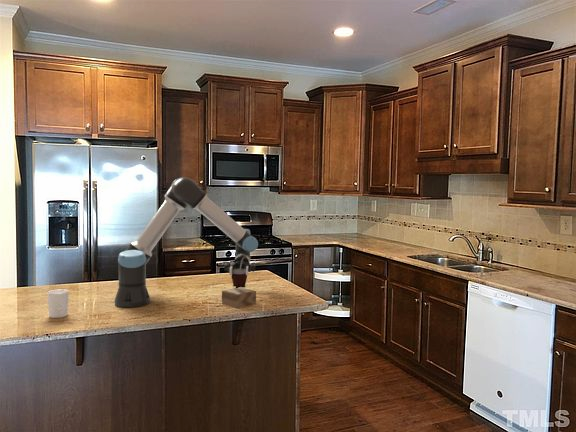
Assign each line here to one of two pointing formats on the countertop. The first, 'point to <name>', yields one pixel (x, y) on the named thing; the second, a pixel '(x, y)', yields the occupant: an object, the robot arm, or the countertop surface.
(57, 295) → the white cup
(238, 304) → the brown cardboard box
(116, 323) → the countertop surface
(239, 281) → the mate gourd
